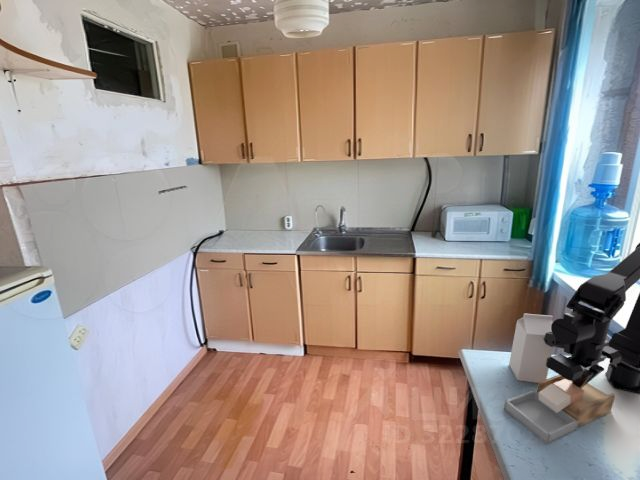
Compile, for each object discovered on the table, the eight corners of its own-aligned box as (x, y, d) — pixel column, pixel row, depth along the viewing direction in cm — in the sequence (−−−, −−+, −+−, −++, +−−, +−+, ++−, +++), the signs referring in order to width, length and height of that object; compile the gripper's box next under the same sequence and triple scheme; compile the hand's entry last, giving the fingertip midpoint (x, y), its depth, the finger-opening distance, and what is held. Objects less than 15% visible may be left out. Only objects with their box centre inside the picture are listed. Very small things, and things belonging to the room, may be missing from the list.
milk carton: (545, 384, 92) (559, 322, 87) (517, 380, 93) (528, 320, 88) (534, 368, 99) (547, 310, 94) (508, 364, 100) (519, 307, 95)
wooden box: (568, 386, 91) (572, 369, 90) (610, 412, 82) (615, 394, 81) (535, 398, 87) (538, 382, 85) (575, 428, 78) (580, 409, 76)
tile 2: (563, 387, 85) (565, 378, 85) (582, 399, 81) (584, 390, 81) (551, 391, 84) (553, 383, 83) (569, 404, 80) (571, 395, 79)
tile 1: (551, 391, 83) (551, 383, 83) (570, 403, 79) (570, 396, 79) (538, 399, 82) (538, 392, 81) (556, 412, 78) (556, 405, 77)
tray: (531, 398, 87) (533, 390, 86) (576, 430, 77) (578, 421, 77) (503, 408, 84) (505, 400, 83) (546, 444, 74) (548, 435, 73)
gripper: (580, 311, 89) (568, 361, 94) (530, 324, 83) (520, 378, 87) (629, 332, 80) (613, 387, 84) (578, 349, 73) (563, 408, 77)
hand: (576, 388), depth 83 cm, fingers closed
